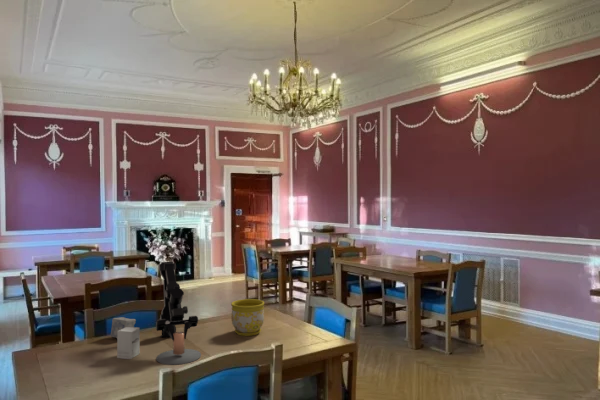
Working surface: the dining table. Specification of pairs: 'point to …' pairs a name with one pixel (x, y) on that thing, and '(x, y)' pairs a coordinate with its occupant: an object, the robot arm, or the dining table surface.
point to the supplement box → (128, 342)
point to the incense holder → (121, 324)
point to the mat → (178, 357)
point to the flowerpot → (247, 316)
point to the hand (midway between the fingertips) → (179, 339)
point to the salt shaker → (178, 343)
